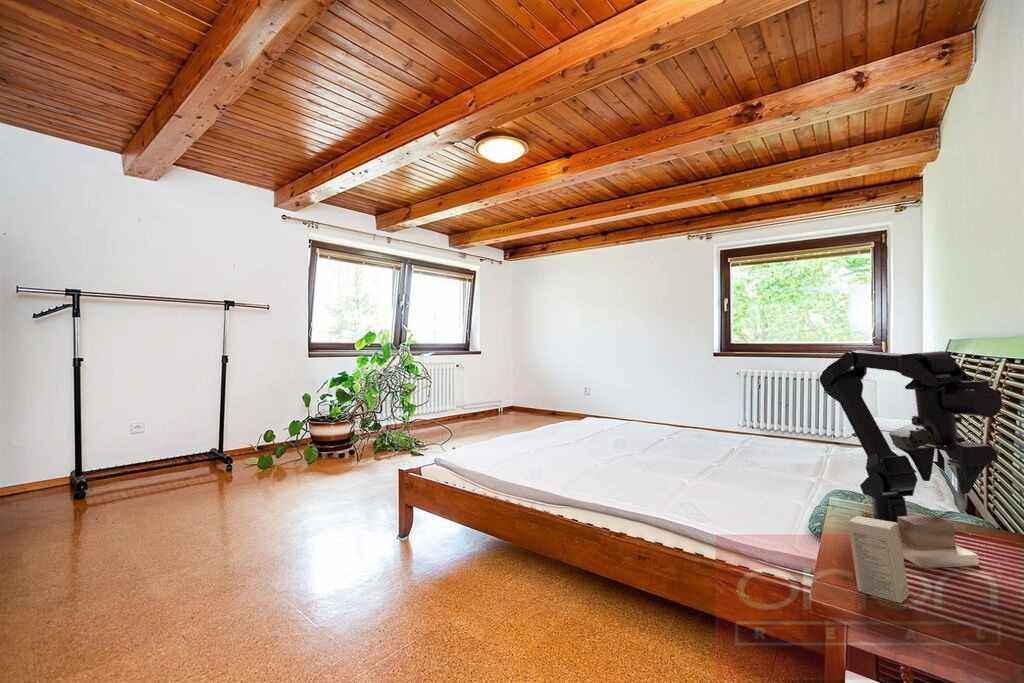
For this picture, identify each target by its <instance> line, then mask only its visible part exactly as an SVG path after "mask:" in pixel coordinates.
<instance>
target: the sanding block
mask: <svg viewBox="0 0 1024 683" xmlns="http://www.w3.org/2000/svg"><path fill="white" fill-rule="evenodd" d="M897 521H898V526H899V532H900V538H901V542H902V543H904V544H906V545H908V546H910V547H912V548H914V549H916V550H918V551H923V550H945V549H956V545H957V544H956V537H955V529H954V522H953V521H949V520H947V519H944V518H942V517H939V516H937V515H935V514H930V515H929V514H925V515H907V516H902V517H897Z"/></svg>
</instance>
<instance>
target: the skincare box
mask: <svg viewBox="0 0 1024 683" xmlns="http://www.w3.org/2000/svg"><path fill="white" fill-rule="evenodd" d="M847 525H848V532H849V537H850V538H849V540H850V546H851V552H852V559H853V566H854V573H855V581H856V586H857V591H858V592H860V593H864V594H867V595H871V596H874V597H877V598H881V599H884V600H887V601H892V602H895V603H899V604H902V603H903V602H904V601H905V600H906V599H907V598H908V597H909V595H910V591H909V587H908V580H907V579H908V578H907V574H906V566H905V560H904V559H905V558H903V551H902V545H901V538H900V532H899V526H898V523H896V522H891V521H885V520H879V519H874V518H868V516H862V515H861V516H860V515H856V516H854V517H852V518H850V519H849V520H847Z"/></svg>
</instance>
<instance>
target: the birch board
mask: <svg viewBox="0 0 1024 683" xmlns="http://www.w3.org/2000/svg"><path fill="white" fill-rule="evenodd" d="M901 545H902V551H903V558H904V559H905V560H907V561H909V562H911V563H913V564H914V565H915V566H918V567H920V568H921V569H932V568H933V569H935V568H956V567H957V568H958V567H977V566H980V562H979V555H978V554H976V553H974V552H972V551H970V550H969V549H965V548H964V547H962V546H959V545H958V544H956V549H945V550H923V551H918V550H916V549H914V548H912V547H910V546H908V545H906V544H904V543H902V542H901Z"/></svg>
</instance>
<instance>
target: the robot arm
mask: <svg viewBox="0 0 1024 683" xmlns="http://www.w3.org/2000/svg"><path fill="white" fill-rule="evenodd" d="M868 369H873V370H883V371H891V372H896V373H899V374H900V375H901V376H903V377H904V378H905V377H906V378H909V379H912V380H911V381H910V382H908V383H907V384H906V385H905V386H904V389H906V390H913V391H914V393H915V395H914V396H915V401H916V411H917V415H913V416H912V417H911V424H908V425H904V426H900V427H899V428H897V429H895V430H891V431H890V432H889V433H888V435H889V437H890V439H891V441H892V445H894V447H895V448H897V449H899V450H901V451H903V452H904V453H906V454H907V455H908V456H909V457H910V459H911V460H912V461H913V465H915V468H916V469H917V471H916V470H915V469H914V467H913V466H912V464H911V462H910V460H909V458H908V457H907V455H898V454H897V453H896V452H894V451H893V450H892V449H891V446H890V445H889V444H888V442H887V440H886V438H885V436H884V435H883V433H882V430H881V429H880V427H879V425H878V423H877V422H876V420H875V418H874V416H873V415H872V413H871V410H870V409H869V408H868V405H867V403H866V402H865V400H864V398H863V390H864V384H863V381H862V379H864V377H865V376H866V375H868V374H867V373H868V371H867V370H868ZM819 382H820V385H821V386H822V388H823V390H824V391H825V392H826V394H827V395H828V396H829V397H831V398H832V399H833V400H835V401H837V402H838V403H839V404H840V406H841V409H842V410H843V412H844V414H845V416H846V418H847V420H848V422H849V424H850V425H851V428H852V429H853V431H854V434H855V435H856V438H857V439H858V441H859V443H860V445H861V447H862V449H863V450H864V451H863V452H864V453H865V455H866V457H867V459H866V463H865V465H866V466H865V470H866V473H867V477H866V479H864V480H863V482H862V483H861V484H860V485H859V486H860V490H861V492H862V494H863V495H864V496H867V497H871V500H872V501H871V502H872V509H873V514H867V516H866V517H868V518H874V519H879V520H885V521H891V522H896V523H898V521H897V517H902V516H908V509H907V506H906V498H905V497H913V496H914V492H915V488H916V487H917V483H918V478H917V475H916V474H917V472H918V473H919V476H920V477H921V479H922V481H923V482H930V481H931V477H932V472H933V465H934V459H935V452H936V451H935V450H939V451H943V452H946V455H947V456H948V457H949V458H950V459H947V462H949V463H950V464H951V465H952V466H953V467H954V468H955V472H956V478H957V481H958V482H957V483H958V486H959V490H960V492H961V494H963V495H965V494H966V495H967V494H969V493H970V492H971V490H972V488H973V487H974V485H975V484H976V481H977V480H978V478H979V476H981V474H982V472H983V471H984V469H985V468H986V467H987V465H992V464H993V462H998V461H999V456H998V449H996V448H995V447H994V446H992V445H990V444H984V443H979V442H974V441H973V442H965V437H964V436H959V435H958V428H957V423H963V419H962V416H957V415H965V416H972V417H973V416H974V417H982V418H992V417H995V416H997V415H998V414H999V413H1000V411H1001V409H1002V407H1003V400H1002V397H1001V396H1000V395H999V393H998V392H997V390H996V389H994V388H992V387H990V382H989V381H988V380H975V381H974V380H973V379H972V378H971V377H970V376H969V374H968V373H966V372H965V371H964V370H963V368H962V367H961V366H960V365H959V364H958V363H957V362H956V360H955V359H954V357H953V356H952V355H951V353H949V352H947V351H943V350H942V351H941V350H940V351H929V352H915V353H907V354H906V353H895V352H893V353H892V352H884V351H883V352H881V351H870V350H866V349H859V350H858V349H856V350H849V351H846V352H844V354H842V356H841V357H839V359H836V360H835V361H834V362H832V363H831V364H829V365H828V366H827V367H826V368H825V369H824V370H823V371H822V372H821V374H820V376H819Z"/></svg>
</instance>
